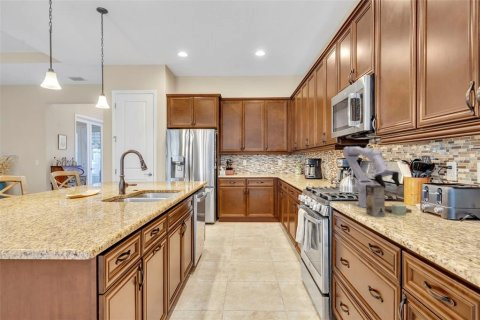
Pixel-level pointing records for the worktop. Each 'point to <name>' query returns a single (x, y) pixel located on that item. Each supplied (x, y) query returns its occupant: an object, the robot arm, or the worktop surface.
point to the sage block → (398, 209)
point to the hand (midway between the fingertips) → (391, 186)
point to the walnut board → (389, 209)
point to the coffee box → (375, 200)
